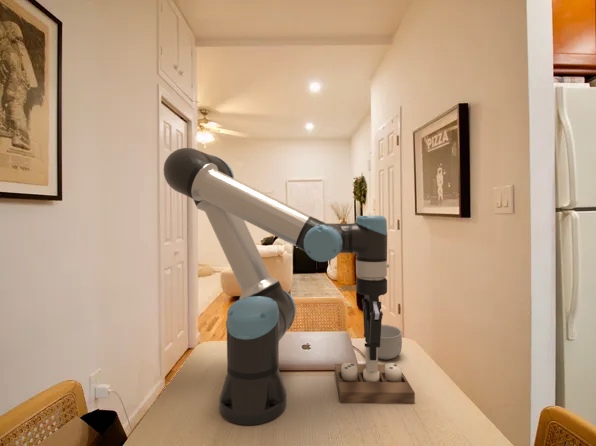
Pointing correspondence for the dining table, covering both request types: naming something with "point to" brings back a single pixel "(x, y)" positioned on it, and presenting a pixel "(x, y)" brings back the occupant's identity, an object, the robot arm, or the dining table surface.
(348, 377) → the button three
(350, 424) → the dining table surface
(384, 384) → the panel
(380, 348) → the teacup
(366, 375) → the button one
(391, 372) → the button two
